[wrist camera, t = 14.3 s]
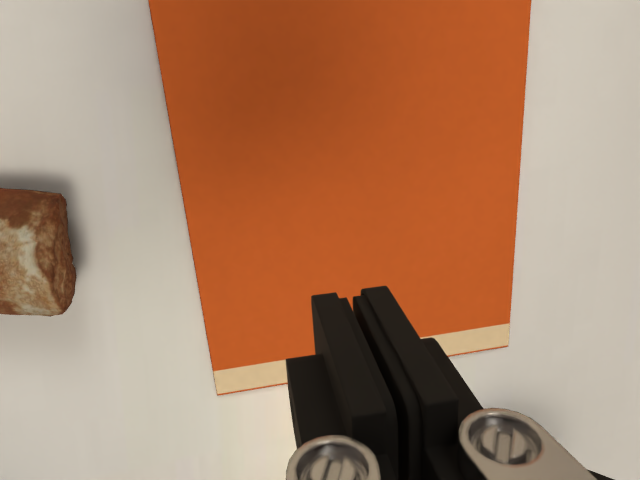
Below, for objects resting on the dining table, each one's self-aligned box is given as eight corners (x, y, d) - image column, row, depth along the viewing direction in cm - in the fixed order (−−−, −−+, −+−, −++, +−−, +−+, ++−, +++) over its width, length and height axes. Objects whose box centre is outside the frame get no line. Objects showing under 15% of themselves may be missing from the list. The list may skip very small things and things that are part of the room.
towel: (137, -65, 25) (136, -67, 24) (533, -85, 27) (537, -86, 27) (217, 392, 34) (217, 395, 34) (505, 343, 37) (508, 346, 37)
